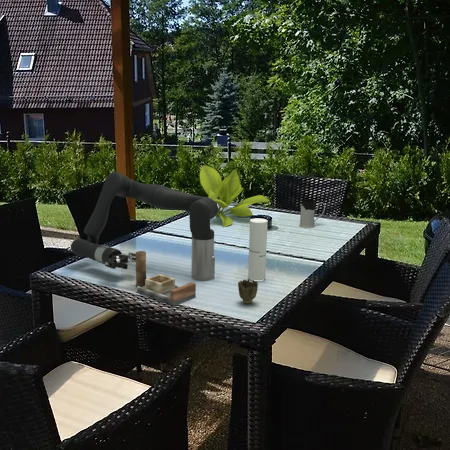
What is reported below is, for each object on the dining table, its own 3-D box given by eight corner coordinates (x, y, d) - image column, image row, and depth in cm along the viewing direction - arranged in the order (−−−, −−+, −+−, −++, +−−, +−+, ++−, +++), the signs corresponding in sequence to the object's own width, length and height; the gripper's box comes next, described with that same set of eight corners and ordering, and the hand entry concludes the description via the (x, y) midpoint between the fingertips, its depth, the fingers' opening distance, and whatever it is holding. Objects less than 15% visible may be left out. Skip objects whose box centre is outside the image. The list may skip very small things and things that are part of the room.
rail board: (136, 292, 217) (136, 279, 215) (158, 284, 225) (157, 271, 224) (174, 306, 205) (174, 291, 203) (195, 297, 213) (195, 283, 212)
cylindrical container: (247, 275, 238) (249, 218, 232) (264, 276, 238) (267, 218, 232) (248, 281, 231) (250, 222, 225) (265, 281, 231) (268, 222, 225)
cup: (234, 305, 207) (235, 284, 205) (241, 298, 214) (241, 278, 212) (253, 308, 204) (254, 287, 202) (259, 301, 211) (260, 281, 209)
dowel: (146, 284, 225) (145, 250, 222) (146, 287, 222) (146, 253, 218) (136, 284, 225) (135, 251, 221) (136, 288, 221) (135, 254, 217)
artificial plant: (198, 238, 314) (222, 200, 297) (176, 185, 340) (197, 147, 322) (258, 242, 337) (284, 207, 320) (234, 192, 363) (256, 157, 345)
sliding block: (145, 289, 216) (145, 279, 215) (160, 283, 222) (160, 274, 221) (160, 294, 211) (160, 284, 210) (175, 288, 217) (175, 278, 216)
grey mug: (297, 224, 324) (298, 198, 320) (321, 224, 326) (323, 198, 322) (301, 228, 316) (302, 202, 312) (325, 228, 317) (327, 202, 314)
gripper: (94, 251, 226) (121, 259, 217) (121, 243, 237) (148, 251, 228) (94, 268, 228) (121, 277, 219) (121, 260, 239) (148, 268, 229)
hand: (135, 264), depth 223 cm, fingers open, 8 cm apart
